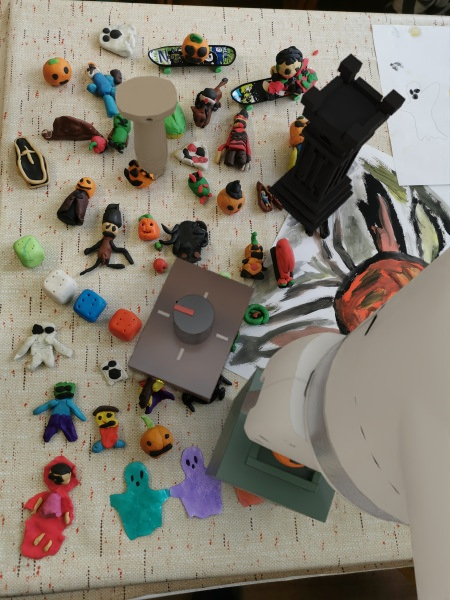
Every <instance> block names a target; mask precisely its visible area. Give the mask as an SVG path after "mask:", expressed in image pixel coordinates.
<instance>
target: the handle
mask: <svg viewBox="0 0 450 600" xmlns="http://www.w3.org/2000/svg"><path fill="white" fill-rule="evenodd" d="M177 91H178V90H177V88H176V86H175V84H174V83H173V82H172V81H171V80H170V79H166V78H163V77H159V76H155V75H143V76H134V77H132V78H129V79H126V80H125V81H123V82H121V83H119V84H118V85H117V87H116V89H115V91H114V92H115V93H114V100H115V104H116V108H117V111H118V113H119V115H120V116H121V118H123V119H125V120H128V121H131V122H132V123H133V147H134V153H135V157H136V161H137V163H138V166H139V165H140V166H139V168H140V167H141V168H142V169H143V170H144V171H146V172H147V173H150V174H153V178H154V179H153V180H158V178H159V177H160V176H162V175H164V174H165V173H166V170H167V167H166V165H167V161H168V156H169V155H168V154H169V146H168V137H167V130H166V124H165V119H168V118H170V117H171V116H173V115H174V114H175V113H176V111H177V106H178V92H177ZM141 168H140V169H141Z"/></svg>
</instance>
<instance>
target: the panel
mask: <svg viewBox="0 0 450 600" xmlns="http://www.w3.org/2000/svg"><path fill="white" fill-rule="evenodd" d="M254 292H255V287H252V286H250V285H248V284H245V283H242V282H240V281H237V280H235V279H232V278H230V277H227V276H225V275H222V274H219V273H217V272H214V271H212V270H210V269H207V268H205V267H202V266H200V265H197V264H194V263H193V262H189V261H188V260H184V259H183V258H180V257H175V259H174V262H173V264H172V266H171V268H170V271H169V273H168V275H167V277H166V279H165V281H164V284H163V285H162V288H161V290H160V292H159V294H158V296H157V299H156V301H155V304H154V305H153V308H152V310H151V312H150V314H149V316H148V319H147V321H146V322H145V325H144V327H143V329H142V331H141V334H140V336H139V338H138V339H137V343H136V345H135V347H134V349H133V351H132V353H131V355H130V358H129V360H128V362H127V368H128V370H129V371H131V372H132V373H133V372H134V373H135V374H138V373H139V374H138V375H141V376H143V375H144V376H143V377H145V376H146V378H148V377H149V376H150V377H153V378H155V379H157V380H160V381H162V382H163V383H164V384H163V385H165V386H167V387H170V388H172V389H175V390H177V391H180V392H182V393H184V394H187V393H188V394H187V395H189V394H191V395H190V396H192V395H194V396H196V397H199V398H201V399H203V400H202V401H204V400H205V401H204V402H206V401H207V402H206V403H210V402H211V399H212V397H213V395H214V392H215V390H216V387H217V385H218V382H219V379H220V377H221V374H222V372H223V369H224V367H225V365H226V363H227V359H228V358H229V355H230V352H231V349H232V347H233V345H234V342H235V340H236V337H237V334H238V333H239V330H240V327H241V324H242V322H243V320H244V318H245V315H246V312H247V310H248V307H249V305H250V302H251V300H252V297H253V295H254ZM192 294H196V295H200V296H203V297H205V298H206V299H207V300H209V301H210V303H211V304H212V306H213V308H214V321H213V326H212V330H211V333H210V335H209V337H208V338H207V339H206V340H205V341H203V342H201V343H199V344H187V343H185V342H183V341H181V340H180V339H179V338H178V337H177V336H176V334H175V332H174V326H173V309H174V306H175V304H176V301H179V300H180V299H181V298H182V297H184V296H187V295H192ZM194 396H193V397H194ZM196 397H195V398H196ZM199 398H198V399H199ZM201 399H200V400H201Z"/></svg>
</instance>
